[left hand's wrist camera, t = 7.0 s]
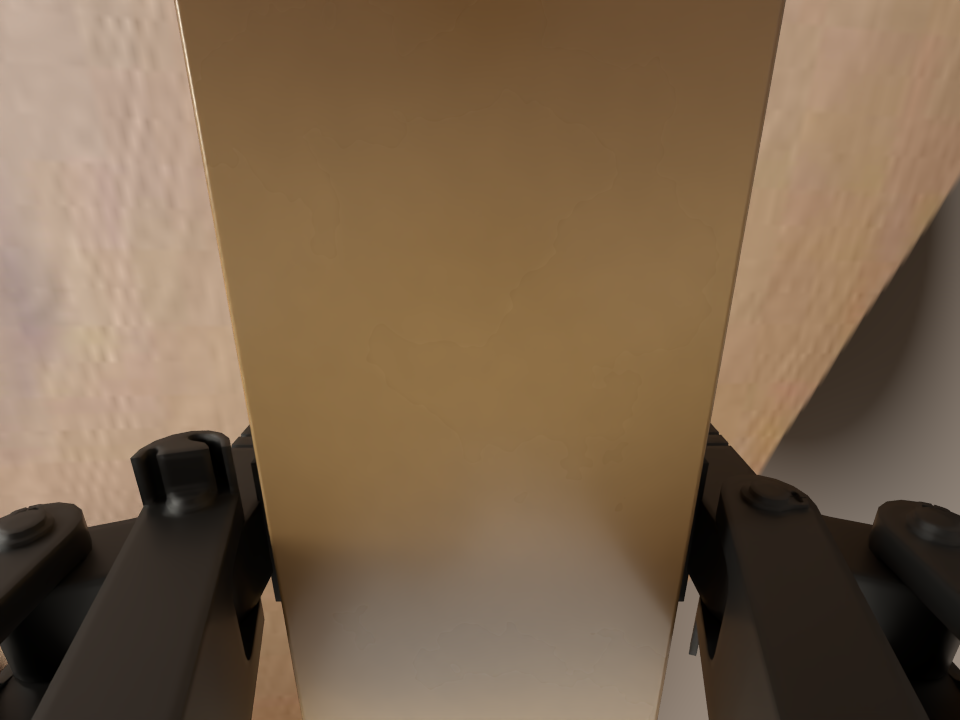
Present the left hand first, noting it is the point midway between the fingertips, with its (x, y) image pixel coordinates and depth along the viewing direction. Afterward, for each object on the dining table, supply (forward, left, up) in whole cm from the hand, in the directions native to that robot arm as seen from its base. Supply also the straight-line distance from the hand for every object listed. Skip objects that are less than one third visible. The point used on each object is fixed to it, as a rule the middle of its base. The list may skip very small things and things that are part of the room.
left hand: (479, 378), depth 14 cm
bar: (+6, +3, -1) cm, 7 cm away
